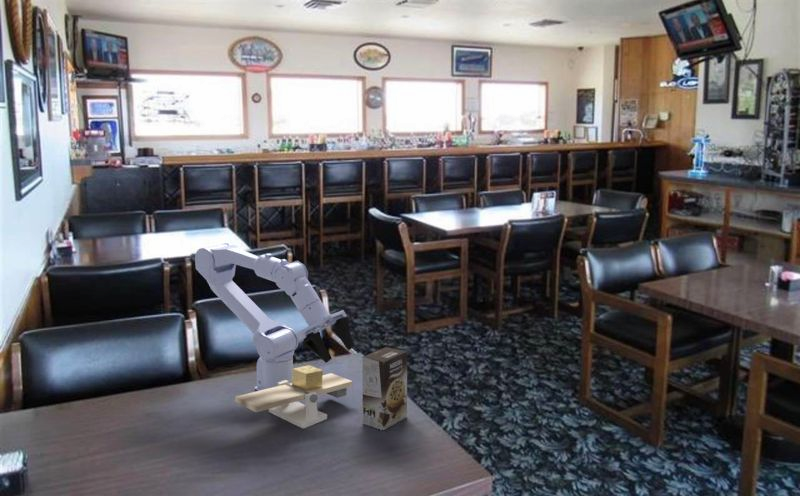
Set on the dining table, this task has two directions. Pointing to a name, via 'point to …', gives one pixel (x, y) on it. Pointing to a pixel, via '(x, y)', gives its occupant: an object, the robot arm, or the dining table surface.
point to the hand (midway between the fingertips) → (340, 354)
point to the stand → (300, 410)
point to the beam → (292, 393)
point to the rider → (307, 377)
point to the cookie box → (384, 388)
